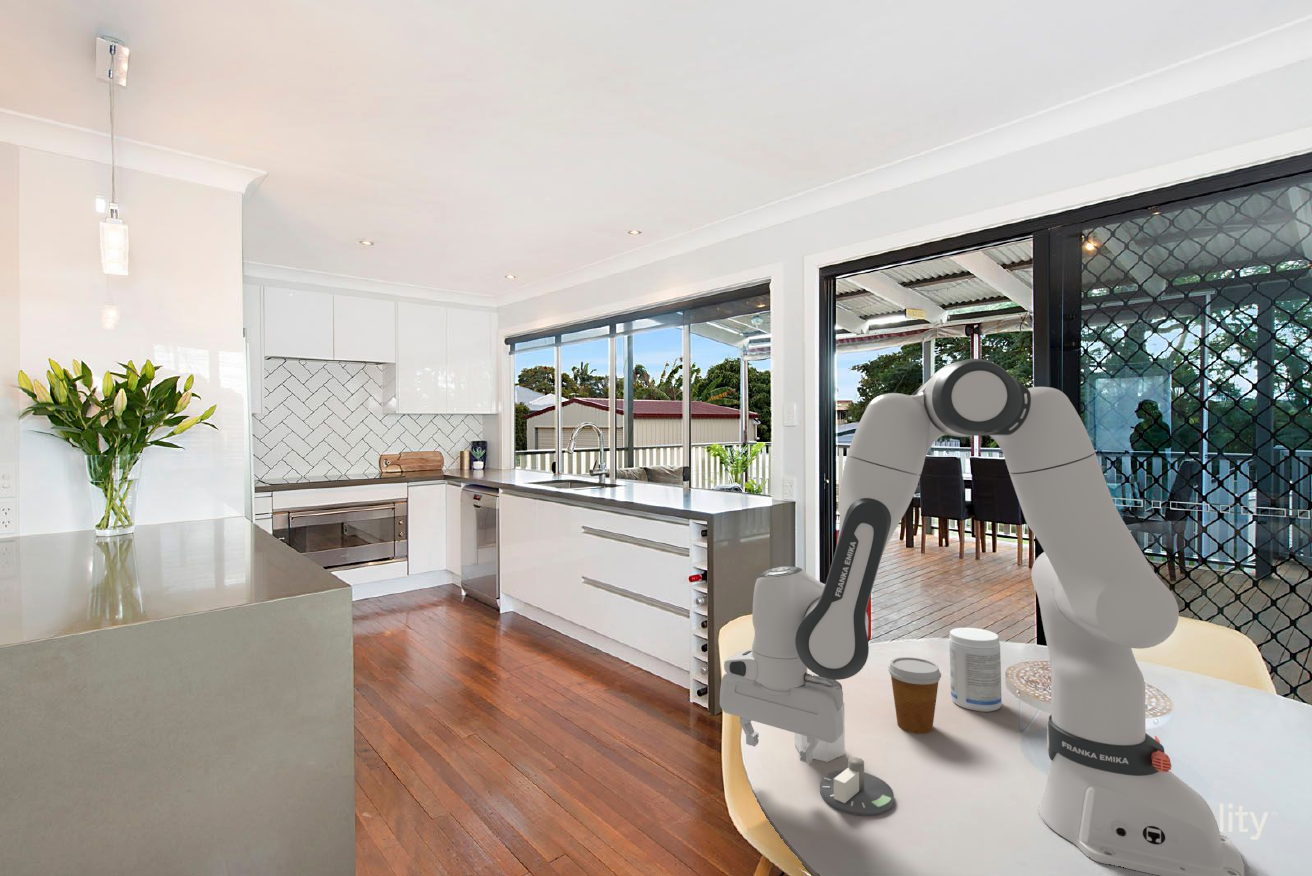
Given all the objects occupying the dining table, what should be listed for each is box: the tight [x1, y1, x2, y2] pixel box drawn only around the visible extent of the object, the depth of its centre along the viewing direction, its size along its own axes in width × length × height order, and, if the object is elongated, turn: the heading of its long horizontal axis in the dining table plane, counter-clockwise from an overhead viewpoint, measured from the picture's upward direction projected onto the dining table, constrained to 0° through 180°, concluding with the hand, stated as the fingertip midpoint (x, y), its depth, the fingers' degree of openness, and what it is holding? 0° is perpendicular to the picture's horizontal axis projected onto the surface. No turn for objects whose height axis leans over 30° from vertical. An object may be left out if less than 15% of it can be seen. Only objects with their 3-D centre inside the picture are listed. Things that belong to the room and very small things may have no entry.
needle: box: [834, 756, 865, 803], centre depth 98 cm, size 6×2×4 cm, turn 135°
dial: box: [819, 769, 895, 817], centre depth 99 cm, size 11×11×1 cm
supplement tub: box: [948, 627, 1003, 713], centre depth 133 cm, size 10×10×15 cm
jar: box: [794, 675, 846, 763], centre depth 114 cm, size 9×8×12 cm
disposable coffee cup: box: [887, 656, 942, 735], centre depth 123 cm, size 10×10×12 cm
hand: (778, 752), depth 103 cm, fingers open, 8 cm apart
